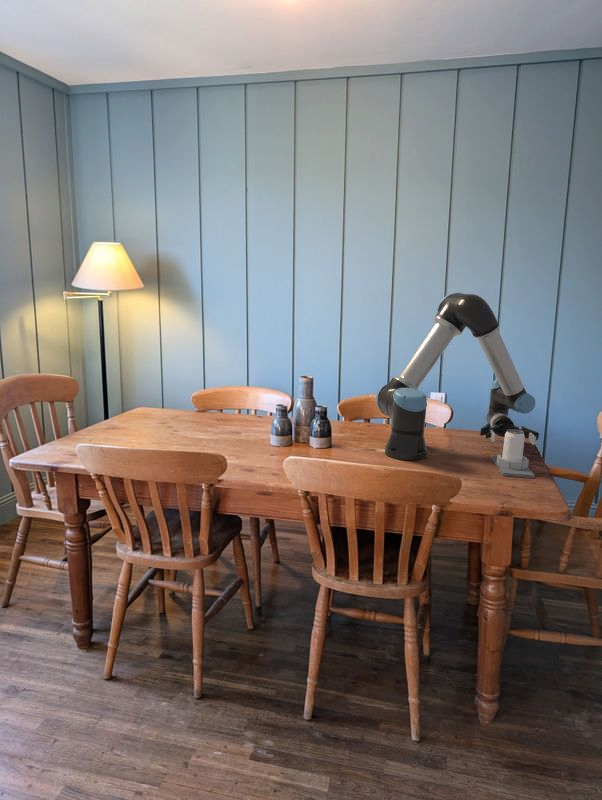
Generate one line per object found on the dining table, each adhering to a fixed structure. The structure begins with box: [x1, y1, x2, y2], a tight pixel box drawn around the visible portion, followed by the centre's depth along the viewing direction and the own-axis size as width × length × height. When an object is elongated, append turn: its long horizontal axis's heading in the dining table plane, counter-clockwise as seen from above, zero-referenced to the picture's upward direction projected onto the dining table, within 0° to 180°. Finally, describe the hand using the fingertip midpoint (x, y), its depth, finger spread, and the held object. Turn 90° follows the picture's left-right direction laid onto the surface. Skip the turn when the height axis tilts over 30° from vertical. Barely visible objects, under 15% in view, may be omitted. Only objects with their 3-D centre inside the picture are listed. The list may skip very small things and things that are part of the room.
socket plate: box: [491, 453, 535, 479], centre depth 203 cm, size 10×20×4 cm, turn 173°
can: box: [502, 429, 526, 462], centre depth 202 cm, size 6×6×12 cm
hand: (514, 439), depth 205 cm, fingers open, 13 cm apart
